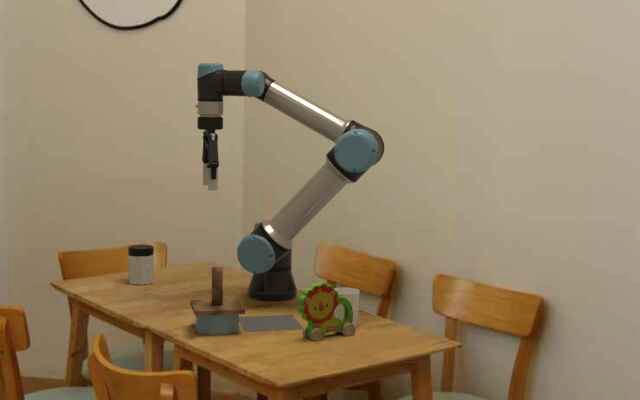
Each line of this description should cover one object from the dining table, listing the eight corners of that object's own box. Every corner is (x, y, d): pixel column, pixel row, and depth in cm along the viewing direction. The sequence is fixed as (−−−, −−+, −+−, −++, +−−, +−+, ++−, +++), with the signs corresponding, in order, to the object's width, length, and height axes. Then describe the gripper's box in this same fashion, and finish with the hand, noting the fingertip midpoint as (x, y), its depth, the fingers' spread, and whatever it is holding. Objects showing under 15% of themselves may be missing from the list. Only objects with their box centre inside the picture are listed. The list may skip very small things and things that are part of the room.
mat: (292, 316, 272) (292, 314, 272) (304, 330, 257) (304, 329, 257) (236, 318, 269) (236, 317, 269) (245, 333, 253) (245, 331, 253)
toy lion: (345, 332, 257) (346, 276, 255) (356, 337, 252) (357, 280, 250) (294, 340, 248) (294, 282, 246) (305, 345, 244) (305, 286, 242)
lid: (237, 302, 263) (238, 262, 261) (245, 314, 250) (245, 272, 249) (190, 304, 260) (190, 263, 258) (195, 316, 247) (195, 273, 246)
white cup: (338, 331, 257) (339, 294, 256) (325, 324, 264) (325, 289, 263) (364, 328, 261) (364, 292, 260) (350, 321, 268) (350, 286, 267)
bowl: (234, 324, 262) (234, 303, 261) (240, 335, 252) (240, 313, 251) (194, 326, 260) (194, 305, 259) (198, 337, 249) (198, 315, 248)
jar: (136, 286, 307) (136, 249, 306) (122, 282, 313) (122, 246, 312) (159, 282, 314) (159, 246, 312) (145, 278, 319) (145, 243, 318)
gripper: (193, 114, 292) (193, 183, 295) (202, 117, 268) (202, 193, 270) (217, 114, 294) (217, 182, 296) (228, 117, 269) (228, 192, 272)
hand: (210, 187), depth 283 cm, fingers open, 13 cm apart
